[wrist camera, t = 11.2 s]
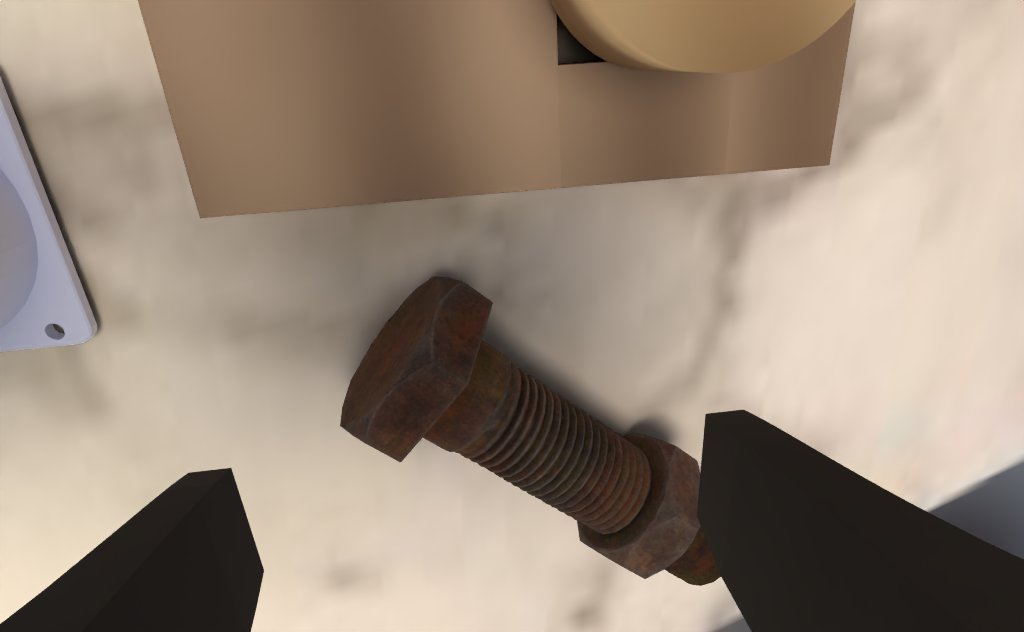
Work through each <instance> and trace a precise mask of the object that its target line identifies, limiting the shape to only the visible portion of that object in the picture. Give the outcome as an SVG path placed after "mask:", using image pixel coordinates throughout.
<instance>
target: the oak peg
mask: <svg viewBox="0 0 1024 632" xmlns="http://www.w3.org/2000/svg"><path fill="white" fill-rule="evenodd" d="M855 1H856V0H551V3H552V5H553V7H554V8H555V10H556V12H557V14H558V16H559V18H560V19H561V21H562V22H563V23H564V25H565V26H566V27H567V29H568V30H569V32H570V33H571V34H572V35H573V36H574V37H575V38H576V39H577V40H578V41H579V42H580V43H581V44H582V45H583V46H584V47H586V48H587V49H588V50H590V51H591V52H592V53H594V54H595V55H597V56H599V57H600V58H602V59H604V60H606V61H608V62H611V63H613V64H616V65H618V66H622V67H626V68H630V69H636V70H650V71H676V72H702V73H732V72H743V71H748V70H752V69H757V68H761V67H764V66H767V65H769V64H772V63H775V62H778V61H780V60H782V59H784V58H786V57H788V56H790V55H792V54H794V53H796V52H798V51H800V50H801V49H803V48H804V47H806V46H807V45H809V44H810V43H812V42H813V41H815V40H816V39H818V38H819V37H820V36H821V35H822V34H824V33H825V32H826V31H827V30H828V29H829V28H831V27H832V26H833V25H834V24H835V23H836V22H837V21H838V20H839V19H840V18H841V17H842V16H843V15H844V14H845V13H846V12H847V11H848V10H849V9H850V7H851V6H852V5H853V4H854V3H855Z"/></svg>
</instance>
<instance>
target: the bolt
mask: <svg viewBox="0 0 1024 632" xmlns="http://www.w3.org/2000/svg"><path fill="white" fill-rule="evenodd" d="M492 303H493V302H491V301H490V300H489V299H487V298H486V297H484V296H483V295H481V294H480V293H478V292H477V291H476V290H474V289H473V288H471V287H470V286H468V285H467V284H466V283H464V282H463V281H460V280H456V279H452V278H448V277H433V278H431V279H429V280H428V281H427V282H426V283H424V284H423V285H422V286H420V287H419V288H418V289H416V290H415V291H414V292H413V293H412V294H411V295H410V296H409V297H408V298H407V299H406V300H405V301H404V302H403V304H402V305H401V306H400V308H399V309H398V310H397V311H396V313H395V314H394V315H393V316H392V317H391V318H390V319H389V320H388V322H387V323H386V325H385V326H384V328H383V329H382V330H381V332H380V333H379V335H378V336H377V338H376V339H375V341H374V342H373V344H372V345H371V347H370V349H369V350H368V352H367V354H366V355H365V357H364V359H363V361H362V362H361V364H360V366H359V367H358V369H357V371H356V373H355V374H354V376H353V377H352V379H351V381H350V385H349V388H348V391H347V394H346V397H345V401H344V404H343V407H342V415H341V424H340V426H341V427H343V428H344V429H345V430H346V431H348V432H349V433H350V434H351V435H353V436H354V437H356V438H358V439H359V440H361V441H362V442H364V443H366V444H368V445H369V446H371V447H373V448H375V449H377V450H379V451H381V452H382V453H384V454H386V455H388V456H390V457H392V458H393V459H395V460H397V461H399V462H401V461H402V460H403V459H404V458H405V457H406V456H407V455H408V453H409V452H410V451H411V450H412V449H413V448H414V447H415V445H416V444H417V443H418V442H419V441H420V440H421V438H422V437H423V438H425V439H427V440H428V441H430V442H432V443H434V444H436V445H437V446H439V447H441V448H443V449H445V450H446V451H449V452H456V453H460V454H461V455H462V456H464V457H465V458H469V459H470V460H471V461H473V462H477V463H478V464H479V465H480V466H482V467H485V468H487V469H488V470H489V471H491V472H494V473H495V474H496V475H498V476H499V477H503V479H504V480H505V481H507V482H511V483H512V484H513V485H514V486H517V487H519V488H520V489H521V490H523V491H527V493H528V494H530V495H532V496H535V497H536V498H538V499H541V500H542V501H543V502H545V503H546V504H549V505H551V506H552V507H554V508H557V509H558V510H559V511H561V512H564V513H565V514H566V515H568V516H571V517H573V518H574V519H575V520H577V524H578V530H579V537H580V541H581V542H583V543H584V544H586V545H587V546H589V547H590V548H592V549H594V550H595V551H597V552H599V553H600V554H602V555H603V556H605V557H607V558H608V559H610V560H612V561H614V562H615V563H617V564H619V565H620V566H622V567H624V568H626V569H628V570H629V571H631V572H633V573H635V574H637V575H639V576H640V577H642V578H644V579H646V578H648V577H650V576H652V575H654V574H656V573H658V572H660V571H662V570H667V571H668V572H669V573H671V574H673V575H674V576H677V577H678V578H680V579H682V580H684V581H685V582H687V583H689V584H692V585H699V586H701V585H705V584H709V583H712V582H714V581H715V580H717V579H718V578H719V577H721V574H720V572H719V569H718V567H717V565H716V562H715V560H714V558H713V555H712V553H711V551H710V548H709V546H708V543H707V541H706V538H705V536H704V533H703V531H702V528H701V526H700V523H699V520H698V518H697V506H698V495H699V484H700V470H699V466H698V463H697V460H695V459H694V458H692V457H691V456H689V455H688V454H687V453H685V452H684V451H682V450H681V449H679V448H678V447H676V446H674V445H671V444H669V443H666V442H664V441H661V440H658V439H655V438H652V437H649V436H646V435H641V434H631V435H628V436H626V437H624V438H623V437H621V436H620V435H618V434H617V433H615V432H613V431H612V430H610V429H609V428H607V427H605V426H604V425H603V424H601V423H600V422H598V421H596V420H594V419H593V418H592V417H591V416H589V415H587V414H586V413H585V412H584V411H582V410H580V409H579V408H577V407H576V406H575V405H573V404H571V403H570V402H569V401H567V400H566V399H564V398H563V397H561V396H560V395H558V394H556V393H555V392H553V391H552V390H551V389H549V388H548V387H546V386H545V385H543V384H541V383H540V382H539V381H537V380H535V379H533V377H531V376H530V375H527V374H525V372H524V371H522V370H521V369H519V368H517V367H516V366H515V365H513V364H512V363H510V362H509V360H508V358H507V357H506V356H505V355H503V354H502V353H500V352H499V351H497V350H496V349H494V348H493V347H491V346H490V345H488V344H487V343H486V342H484V341H483V340H482V337H483V334H484V331H485V327H486V324H487V321H488V317H489V314H490V311H491V307H492Z"/></svg>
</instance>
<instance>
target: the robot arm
mask: <svg viewBox="0 0 1024 632" xmlns="http://www.w3.org/2000/svg"><path fill="white" fill-rule="evenodd" d="M53 324H57V325H59V326H61V327H62V328H63V330H64V332H65V334H61V333H59V332H57V331H56V330H55V328H54V327H53ZM96 332H97V323H96V321H95V318H94V316H93V313H92V310H91V308H90V305H89V303H88V300H87V298H86V295H85V292H84V290H83V287H82V285H81V282H80V280H79V277H78V275H77V272H76V269H75V267H74V264H73V262H72V259H71V257H70V254H69V251H68V249H67V246H66V244H65V241H64V239H63V236H62V233H61V231H60V228H59V226H58V223H57V221H56V218H55V215H54V213H53V210H52V208H51V205H50V203H49V200H48V197H47V195H46V192H45V190H44V187H43V185H42V182H41V180H40V177H39V174H38V172H37V169H36V167H35V164H34V162H33V159H32V156H31V154H30V151H29V149H28V146H27V144H26V141H25V138H24V136H23V133H22V131H21V128H20V126H19V123H18V120H17V118H16V115H15V113H14V110H13V108H12V105H11V102H10V100H9V97H8V95H7V92H6V90H5V87H4V84H3V82H2V79H1V77H0V352H6V351H16V350H27V349H37V348H47V347H57V346H67V345H77V344H82V343H86V342H87V341H88V340H90V339H91V338H92V337H93V336H94V335H96ZM697 518H698V520H699V523H700V526H701V528H702V531H703V533H704V536H705V538H706V541H707V543H708V546H709V548H710V551H711V553H712V555H713V558H714V560H715V562H716V565H717V567H718V569H719V572H720V574H721V577H722V578H723V580H724V582H725V584H726V586H727V588H728V590H729V591H730V593H731V595H732V597H733V599H734V600H735V602H736V604H737V606H738V608H739V609H740V611H741V613H742V615H743V617H744V619H745V620H746V622H747V624H748V626H749V627H750V629H751V631H752V632H1024V559H1021V558H1019V557H1017V556H1015V555H1012V554H1010V553H1008V552H1006V551H1004V550H1002V549H1000V548H998V547H996V546H994V545H991V544H989V543H987V542H985V541H983V540H981V539H979V538H977V537H975V536H973V535H971V534H969V533H967V532H965V531H963V530H961V529H959V528H957V527H956V526H954V525H951V524H950V523H947V522H946V521H944V520H942V519H940V518H938V517H936V516H934V515H932V514H930V513H928V512H926V511H924V510H922V509H920V508H918V507H917V506H915V505H913V504H911V503H909V502H907V501H905V500H904V499H902V498H900V497H898V496H896V495H894V494H892V493H891V492H889V491H887V490H885V489H883V488H882V487H880V486H878V485H876V484H874V483H873V482H871V481H869V480H867V479H865V478H864V477H862V476H860V475H858V474H857V473H855V472H853V471H851V470H850V469H848V468H846V467H844V466H843V465H841V464H839V463H837V462H836V461H834V460H832V459H830V458H829V457H827V456H825V455H824V454H822V453H820V452H818V451H817V450H815V449H813V448H812V447H810V446H808V445H806V444H805V443H803V442H801V441H800V440H798V439H796V438H794V437H793V436H791V435H789V434H787V433H786V432H784V431H782V430H780V429H779V428H777V427H775V426H774V425H772V424H770V423H768V422H766V421H765V420H763V419H761V418H759V417H757V416H755V415H753V414H751V413H749V412H747V411H745V410H736V411H728V412H719V413H710V414H706V417H705V428H704V439H703V450H702V462H701V473H700V484H699V495H698V506H697ZM263 573H264V569H263V566H262V563H261V560H260V557H259V554H258V550H257V547H256V544H255V541H254V538H253V535H252V532H251V529H250V525H249V522H248V519H247V516H246V513H245V510H244V507H243V504H242V500H241V497H240V494H239V491H238V488H237V485H236V482H235V479H234V476H233V472H232V469H231V468H227V469H218V470H209V471H200V472H192V473H188V474H186V475H185V476H184V477H182V478H181V479H179V480H178V481H177V482H175V483H174V484H173V485H171V486H170V487H169V488H168V489H166V490H165V491H164V492H163V493H161V494H160V495H159V496H158V497H156V498H155V499H154V500H153V501H151V502H150V503H149V504H148V505H147V506H145V507H144V508H143V509H142V510H141V511H139V512H138V513H137V514H136V515H135V516H133V517H132V518H131V519H130V520H128V521H127V522H126V523H125V524H124V525H122V526H121V527H120V528H119V529H118V530H117V531H115V532H114V533H113V534H112V535H111V536H109V537H108V538H107V539H106V540H104V541H103V542H102V543H101V544H100V545H98V546H97V547H96V548H95V549H94V550H92V551H91V552H90V553H89V554H87V555H86V556H85V557H84V558H83V559H81V560H80V561H79V562H78V563H77V564H75V565H74V566H73V567H72V568H70V569H69V570H68V571H67V572H66V573H64V574H63V575H62V576H61V577H60V578H58V579H57V580H56V581H55V582H53V583H52V584H51V585H50V586H49V587H47V588H46V589H45V590H44V591H42V592H41V593H40V594H38V595H37V596H36V597H35V598H33V599H32V600H31V601H29V602H28V603H27V604H26V605H24V606H23V607H22V608H20V609H19V610H18V611H17V612H15V613H14V614H13V615H11V616H10V617H9V618H8V619H6V620H5V621H4V622H2V623H1V624H0V632H251V628H252V624H253V619H254V615H255V611H256V607H257V602H258V597H259V592H260V587H261V583H262V578H263Z"/></svg>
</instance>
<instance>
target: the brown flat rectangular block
mask: <svg viewBox="0 0 1024 632" xmlns="http://www.w3.org/2000/svg"><path fill="white" fill-rule="evenodd" d="M138 2H139V6H140V9H141V13H142V16H143V20H144V23H145V27H146V30H147V34H148V37H149V41H150V44H151V48H152V51H153V55H154V58H155V62H156V65H157V69H158V72H159V76H160V79H161V83H162V86H163V90H164V93H165V97H166V100H167V104H168V107H169V111H170V114H171V118H172V121H173V125H174V128H175V132H176V135H177V139H178V142H179V146H180V149H181V153H182V156H183V160H184V163H185V167H186V170H187V174H188V177H189V181H190V184H191V188H192V191H193V195H194V198H195V202H196V205H197V209H198V212H199V216H200V218H207V217H219V216H231V215H243V214H255V213H267V212H279V211H290V210H302V209H314V208H326V207H338V206H350V205H362V204H374V203H386V202H397V201H409V200H421V199H433V198H445V197H457V196H469V195H481V194H492V193H504V192H516V191H528V190H540V189H552V188H564V187H576V186H587V185H599V184H611V183H623V182H635V181H647V180H659V179H671V178H683V177H694V176H706V175H718V174H730V173H742V172H754V171H766V170H778V169H789V168H801V167H813V166H825V165H829V163H830V157H831V151H832V145H833V138H834V132H835V126H836V120H837V113H838V107H839V101H840V95H841V88H842V82H843V76H844V70H845V63H846V57H847V51H848V45H849V38H850V32H851V26H852V20H853V13H854V7H855V3H854V4H853V5H852V6H851V7H850V9H849V10H848V11H847V12H846V13H845V14H844V15H843V16H842V17H841V18H840V19H839V20H838V21H837V22H836V23H835V24H834V25H833V26H832V27H831V28H829V29H828V30H827V31H826V32H825V33H824V34H822V35H821V36H820V37H819V38H818V39H816V40H815V41H813V42H812V43H810V44H809V45H807V46H806V47H804V48H803V49H801V50H800V51H798V52H796V53H794V54H792V55H790V56H788V57H786V58H784V59H782V60H780V61H778V62H775V63H772V64H769V65H767V66H764V67H761V68H757V69H752V70H748V71H743V72H732V73H702V72H676V71H650V70H636V69H630V68H626V67H622V66H618V65H616V64H613V63H611V62H608V61H606V60H603V61H588V62H573V63H559V64H558V50H557V12H556V10H555V8H554V7H553V5H552V3H551V0H138Z"/></svg>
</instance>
